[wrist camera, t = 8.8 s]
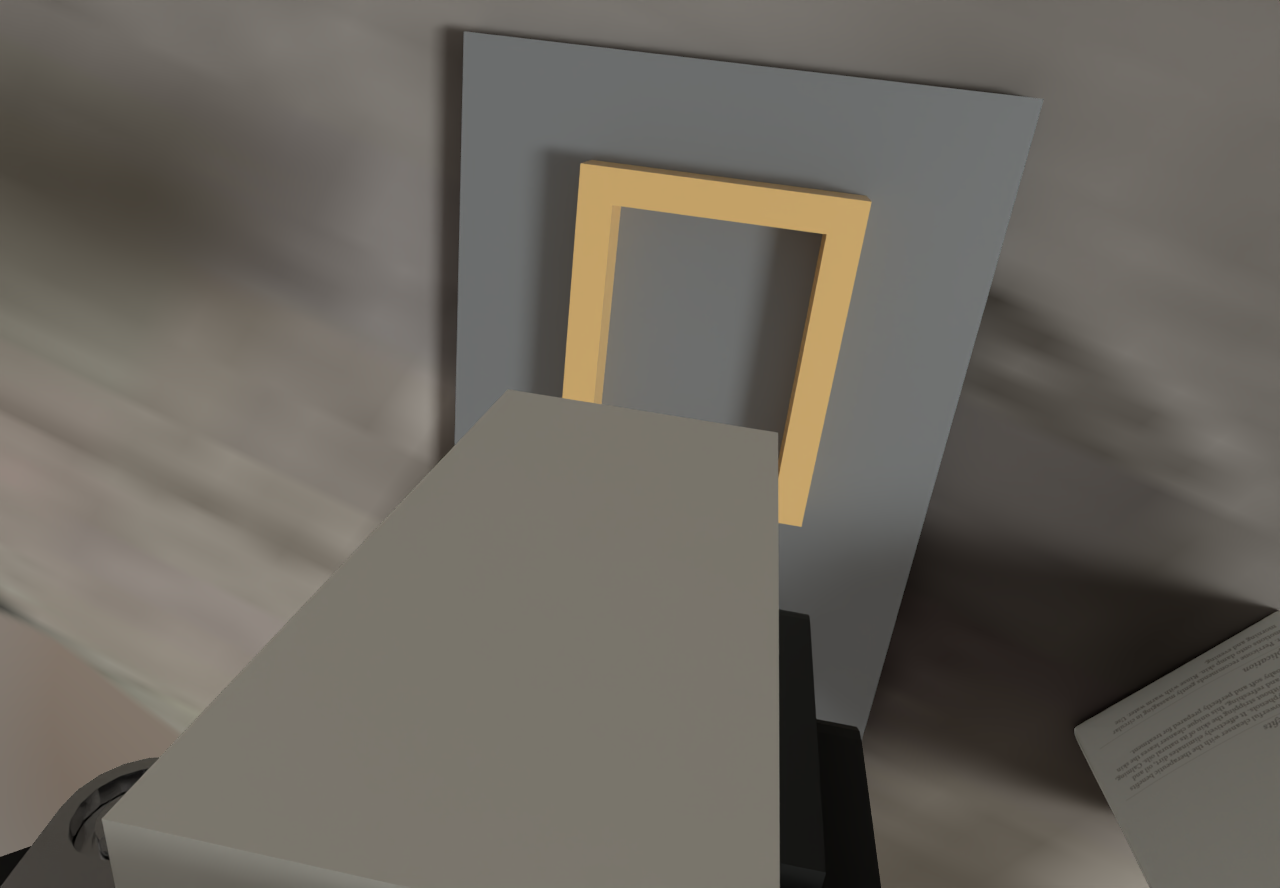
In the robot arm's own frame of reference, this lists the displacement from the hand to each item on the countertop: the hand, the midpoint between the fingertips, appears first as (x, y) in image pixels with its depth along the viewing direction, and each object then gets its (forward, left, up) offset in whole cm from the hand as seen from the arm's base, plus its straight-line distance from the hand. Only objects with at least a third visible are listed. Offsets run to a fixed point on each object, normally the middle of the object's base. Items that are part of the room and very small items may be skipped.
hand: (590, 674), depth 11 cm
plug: (0, 0, -2) cm, 2 cm away
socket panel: (0, +7, -17) cm, 19 cm away
